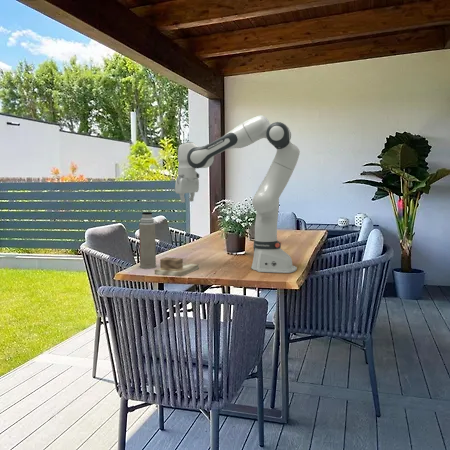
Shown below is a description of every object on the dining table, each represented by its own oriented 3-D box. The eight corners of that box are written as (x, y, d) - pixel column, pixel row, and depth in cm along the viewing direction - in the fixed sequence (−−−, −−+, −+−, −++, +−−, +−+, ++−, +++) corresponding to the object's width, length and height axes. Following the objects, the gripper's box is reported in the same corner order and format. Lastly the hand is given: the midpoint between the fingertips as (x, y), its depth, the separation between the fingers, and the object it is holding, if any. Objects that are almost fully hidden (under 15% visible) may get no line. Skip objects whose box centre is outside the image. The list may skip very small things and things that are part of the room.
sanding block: (182, 268, 215) (182, 258, 215) (177, 271, 210) (177, 260, 209) (166, 267, 218) (166, 257, 218) (160, 269, 213) (160, 259, 213)
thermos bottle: (138, 268, 226) (137, 212, 223) (141, 265, 234) (140, 211, 231) (154, 268, 226) (153, 212, 223) (157, 265, 234) (156, 211, 231)
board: (198, 268, 226) (198, 264, 225) (181, 276, 208) (180, 272, 208) (173, 266, 231) (173, 262, 231) (154, 274, 213) (154, 269, 213)
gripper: (183, 174, 219) (183, 203, 220) (200, 174, 237) (201, 200, 239) (171, 174, 221) (172, 203, 222) (189, 174, 240) (190, 200, 241)
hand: (187, 201), depth 231 cm, fingers open, 8 cm apart
